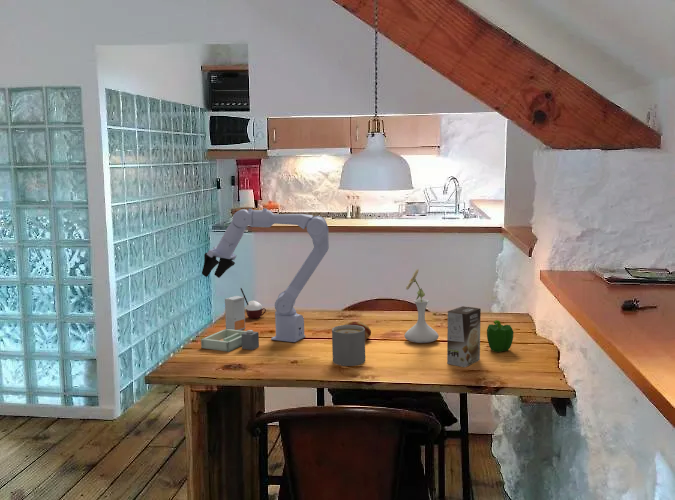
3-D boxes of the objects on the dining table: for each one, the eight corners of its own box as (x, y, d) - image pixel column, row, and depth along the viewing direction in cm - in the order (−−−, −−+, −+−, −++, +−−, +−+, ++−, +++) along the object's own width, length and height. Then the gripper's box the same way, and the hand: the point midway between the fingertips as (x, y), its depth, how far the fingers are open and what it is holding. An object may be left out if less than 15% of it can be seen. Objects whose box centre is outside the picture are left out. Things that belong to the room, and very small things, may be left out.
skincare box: (233, 332, 236) (232, 299, 235) (225, 330, 239) (224, 298, 237) (246, 328, 241) (244, 296, 239) (237, 327, 244) (236, 295, 242)
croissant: (354, 340, 236) (344, 320, 236) (379, 328, 233) (368, 308, 233) (341, 356, 215) (329, 335, 215) (367, 343, 213) (356, 322, 213)
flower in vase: (413, 334, 228) (412, 263, 225) (443, 338, 222) (444, 265, 219) (396, 344, 217) (395, 269, 214) (428, 349, 211) (428, 272, 208)
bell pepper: (502, 345, 214) (502, 315, 212) (518, 351, 206) (518, 320, 205) (480, 348, 211) (480, 317, 209) (495, 355, 203) (495, 323, 202)
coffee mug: (363, 366, 196) (363, 333, 194) (330, 365, 197) (329, 333, 195) (367, 352, 209) (366, 322, 207) (336, 352, 210) (335, 321, 209)
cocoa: (266, 316, 260) (266, 286, 259) (263, 320, 254) (263, 289, 253) (242, 315, 261) (243, 285, 260) (238, 319, 255) (239, 288, 254)
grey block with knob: (259, 346, 218) (258, 329, 217) (252, 350, 215) (251, 332, 214) (248, 345, 220) (248, 328, 219) (242, 348, 216) (241, 331, 216)
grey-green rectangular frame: (252, 340, 226) (252, 331, 225) (229, 351, 213) (228, 342, 213) (226, 337, 231) (225, 328, 230) (201, 348, 218) (201, 339, 218)
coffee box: (465, 368, 192) (466, 314, 190) (446, 364, 196) (446, 311, 194) (480, 360, 199) (481, 308, 197) (461, 356, 203) (461, 305, 201)
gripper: (232, 237, 231) (214, 270, 233) (209, 233, 218) (189, 268, 220) (247, 247, 228) (228, 281, 230) (224, 244, 215) (204, 279, 217)
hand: (210, 275), depth 225 cm, fingers open, 7 cm apart
